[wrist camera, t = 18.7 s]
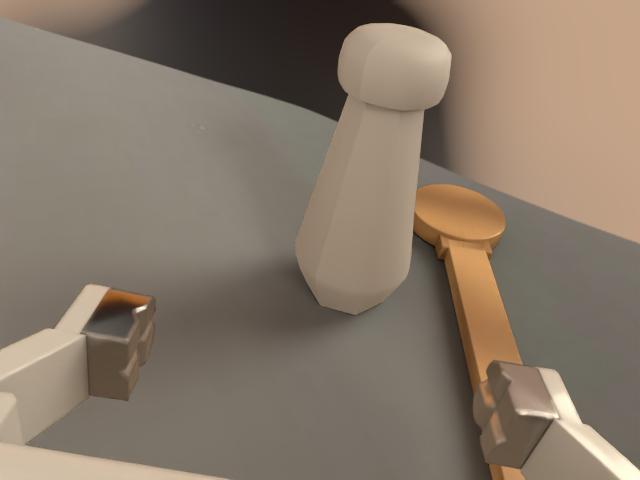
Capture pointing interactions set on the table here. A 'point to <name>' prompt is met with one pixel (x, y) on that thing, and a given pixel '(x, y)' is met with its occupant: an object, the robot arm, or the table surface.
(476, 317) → the wooden spoon
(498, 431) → the robot arm
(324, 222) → the salt shaker
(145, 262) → the table surface
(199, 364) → the table surface
